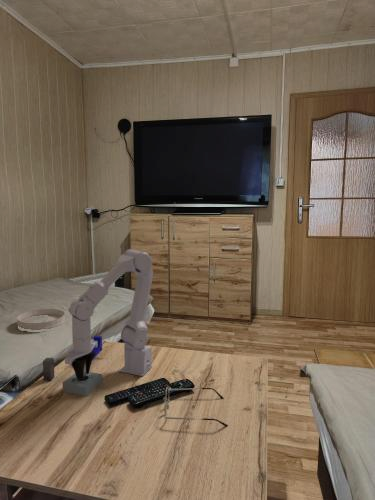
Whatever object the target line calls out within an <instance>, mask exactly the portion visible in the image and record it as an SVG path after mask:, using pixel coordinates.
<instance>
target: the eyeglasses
mask: <svg viewBox="0 0 375 500" xmlns="http://www.w3.org/2000/svg"><path fill="white" fill-rule="evenodd" d="M185 390H187V391H188V390H213V391H214V392H215V393H216V394H217V396H218V397H219V398H220V399H222V400H225V398H224V397H223V396H222V395H221V393H219V392H218V391H217V390H216V389H215V388H213V387H199V388H194V387H193V388H192V387H191V388H190V387H189V388H170V387H168V386H167V387H166V389H165V396H164V397H163V401H164V402H163V406H164V407H163V409H164V411H163V412H164V419H165V421H167V420H168V419H169V420H191V421H192V420H194V421H195V420H196V418H193V417H175V416H173V417H171V416H168V415H167V410H169V408H170V401H171V400H170V397H167V396H168V393H169V394H170V391H185ZM167 392H168V393H167ZM199 420H201V421H215V422H218V423H219V424H221V425H222V426H224V427H228V426H229V425H228V424H227V423H224V422H223V421H221V420H219V419H216V418H204V417H203V418H199Z"/></svg>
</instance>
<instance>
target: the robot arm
mask: <svg viewBox="0 0 375 500" xmlns="http://www.w3.org/2000/svg"><path fill="white" fill-rule="evenodd" d="M152 264H153V258H152V257H151V256H150V254H149V253H148V252H146V251H140V250H135V249H132V248H128V249H127V250H125V251H124V253H123V254H121V255H120V256H119V257H118V260H117V262H116V263H115V264H114V265H113V266H112V267H111V269H110V270H109V271H108V272H107V273H106V274H105V275H104V277H102V279H101V280H100V281H95V282H93V283H90V284H89V286H88V287H89V288H87V290H85V292H84V293H82V295H79V296H78V298H77V299H74V300H73V301H71V303H70V306H69V307H68V312H69V314H70V315H71V329H72V330H71V332H72V333H71V335H72V337H71V338H72V347H70V352H69V353H68V355H67V356H66V357H65V358H64V364H65V365H70V366H71V367H72V368H73V371H74V374H76V377H77V378H80V379H82V378H83V375H84V366H85V362H86V374H89V372H91V371H90V369H91V365H92V364H93V363H92V362H93V361H94V359H95V358H94V356H95V351H92V350H93V348H94V347H95V348H96V347H98V341H93V340H92V330H91V325H92V323H91V317H92V316H93V315H94V311H95V309H96V307H97V306H98V305H99V303H100V302H101V301H102V300H103V299H104V298H105V297H106V296H107V295H108V293H109V288H110V287H111V286H112V285H113V284H114V283H115V282H116V281H117V280H118V279H119V278H121V277H122V276H123V275H124V274H125V273H128V272H134V275H136V277H137V278H136V282H135V283H136V284H135V288H134V294H133V300H132V305H131V309H130V314H129V318H128V319H127V320H126V321H125V322H124V326H123V328H122V329H121V331H120V338H121V339H122V341H123V344H124V352H123V353H124V366H123V367H122V368H120V369H119V372H120V373H125V374H131V375H135V376H139V377H143V376H145V375H146V373H147V372H148V371H149V370H151V369H152V367H153V365H152V349H151V348H150V347H147V346H146V345H148V341H149V335H148V330H149V328H148V326H147V323H146V322H145V321H146V314H147V311H148V310H147V309H148V304H149V299H150V294H151V288H152V284H153V283H152V282H153V277H154V270H153V266H152ZM93 358H94V359H93ZM92 360H93V361H92Z"/></svg>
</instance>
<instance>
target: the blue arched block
mask: <svg viewBox="0 0 375 500" xmlns="http://www.w3.org/2000/svg"><path fill="white" fill-rule="evenodd" d="M92 341H98V347H96V348H95V347H94V348H93V350H92V351H95V356H94V358H93V360H92V362H93V361H94V359H95V358H96V357H97V356H98V355H99V354H100V353H101V352H102V351H103V336H102V335H93V340H92Z"/></svg>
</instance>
